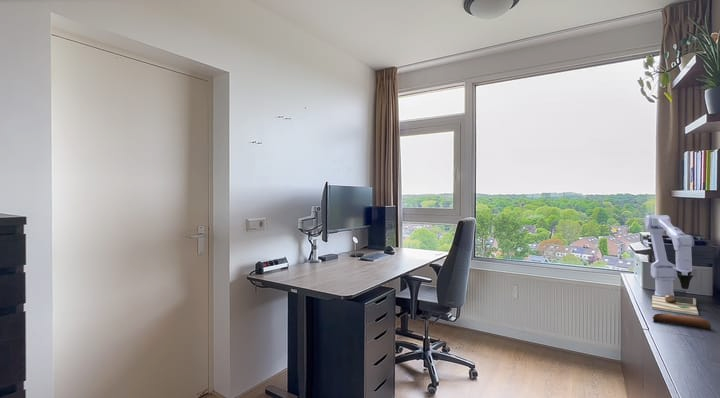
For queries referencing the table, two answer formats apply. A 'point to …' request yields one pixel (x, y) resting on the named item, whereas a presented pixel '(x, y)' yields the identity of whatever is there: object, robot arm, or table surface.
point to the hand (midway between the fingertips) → (684, 287)
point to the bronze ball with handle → (680, 299)
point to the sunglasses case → (681, 320)
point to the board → (673, 306)
